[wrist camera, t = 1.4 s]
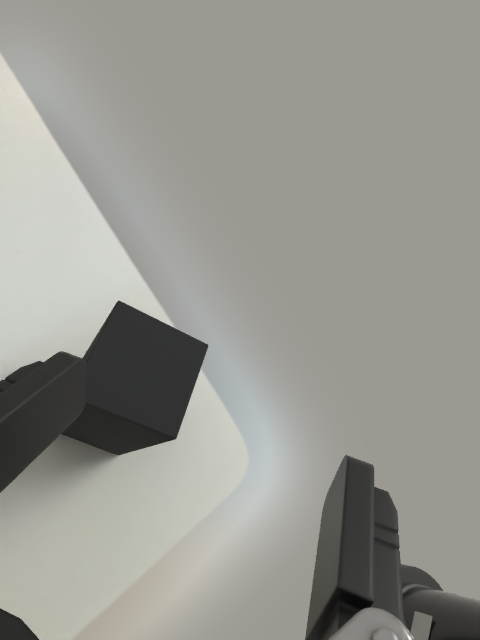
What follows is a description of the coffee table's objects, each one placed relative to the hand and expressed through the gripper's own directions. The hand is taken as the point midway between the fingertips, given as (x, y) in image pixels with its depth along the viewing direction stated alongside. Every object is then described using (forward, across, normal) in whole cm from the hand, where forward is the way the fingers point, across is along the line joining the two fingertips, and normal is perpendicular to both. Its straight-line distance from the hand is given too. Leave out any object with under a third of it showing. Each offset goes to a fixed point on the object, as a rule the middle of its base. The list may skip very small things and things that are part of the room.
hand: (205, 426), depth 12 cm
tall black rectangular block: (+10, -10, -12) cm, 18 cm away
